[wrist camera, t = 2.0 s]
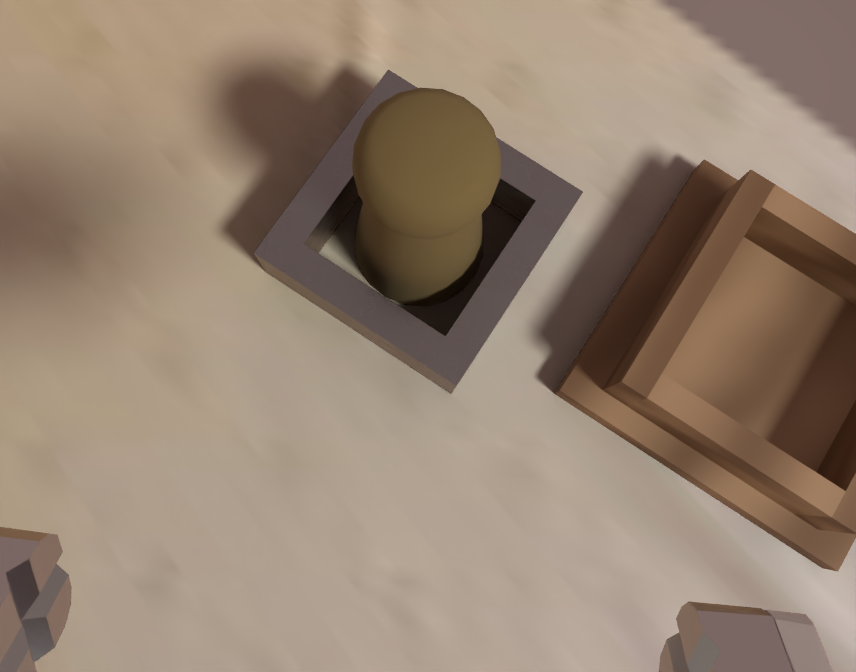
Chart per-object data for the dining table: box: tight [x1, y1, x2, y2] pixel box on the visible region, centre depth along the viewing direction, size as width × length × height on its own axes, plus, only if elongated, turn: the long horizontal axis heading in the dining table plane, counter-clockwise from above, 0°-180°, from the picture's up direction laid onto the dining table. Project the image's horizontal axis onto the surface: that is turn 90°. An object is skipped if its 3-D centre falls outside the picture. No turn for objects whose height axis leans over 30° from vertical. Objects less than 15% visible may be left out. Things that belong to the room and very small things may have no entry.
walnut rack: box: [554, 160, 856, 571], centre depth 34 cm, size 14×13×4 cm
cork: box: [352, 88, 501, 306], centre depth 31 cm, size 6×6×11 cm
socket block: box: [254, 70, 583, 393], centre depth 35 cm, size 10×10×3 cm
